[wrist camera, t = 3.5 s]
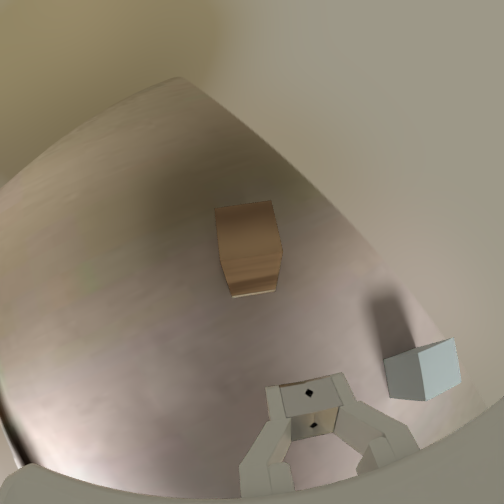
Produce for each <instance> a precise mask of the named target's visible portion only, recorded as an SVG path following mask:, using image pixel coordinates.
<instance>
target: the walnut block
mask: <svg viewBox="0 0 504 504" xmlns="http://www.w3.org/2000/svg"><path fill="white" fill-rule="evenodd" d="M214 209H215V219H216V229H217V238H218V247H219V256H220V262H221V265H222V268H223V271H224V274H225V277H226V280H227V283H228V286H229V289H230V292H231V295H232V298H236V297H243V296H250V295H256V294H263V293H269V292H275V290H276V285H277V280H278V275H279V270H280V264H281V259H282V254H283V249H282V245H281V240H280V236H279V232H278V227H277V223H276V219H275V214H274V210H273V206H272V202H271V200H270V201H263V202H255V203H248V204H241V205H234V206H227V207H221V208H214Z"/></svg>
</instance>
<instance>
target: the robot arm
mask: <svg viewBox="0 0 504 504" xmlns="http://www.w3.org/2000/svg"><path fill="white" fill-rule="evenodd" d="M265 391H266V399H267V408H268V416H269V421H267V422H266V424H265V425H264V427H263V429H262V430H261V432H260V434H259V435H258V437H257V439H256V440H255V442H254V443H253V445H252V447H251V448H250V450H249V451H248V453H247V455H246V456H245V458H244V459H243V461H242V462H241V464H240V465H239V478H240V492H241V498H233V499H188V498H173V497H162V496H153V495H146V494H139V493H133V492H127V491H122V490H117V489H112V488H108V487H104V486H100V485H96V484H92V483H88V482H85V481H82V480H78V479H75V478H72V477H69V476H66V475H63V474H60V473H57V472H55V471H52V470H49V469H47V468H45V467H42V466H40V465H37V464H34V463H31V464H28V465H26V466H24V467H22V468H20V469H18V470H17V471H15V472H14V473H12V474H10V475H9V476H8V477H7V478H6V479H5V481H4V482H3V484H2V486H1V488H0V504H504V396H503V397H502V398H501V399H500V400H499V401H497V402H496V403H495V404H494V405H492V406H491V407H489V408H488V409H487V410H485V411H484V412H483V413H481V414H480V415H478V416H477V417H475V418H474V419H473V420H471V421H470V422H468V423H467V424H465V425H463V426H462V427H460V428H459V429H457V430H456V431H454V432H452V433H451V434H449V435H447V436H445V437H444V438H442V439H440V440H438V441H437V442H435V443H433V444H431V445H429V446H427V447H425V448H423V449H421V450H420V448H419V447H418V445H417V443H416V441H415V439H414V437H413V436H412V434H411V432H410V430H409V428H408V427H407V425H405V424H403V423H401V422H399V421H397V420H395V419H393V418H391V417H389V416H387V415H385V414H383V413H382V412H380V411H378V410H376V409H374V408H372V407H371V406H369V405H367V404H365V403H363V402H362V401H359V402H357V401H356V399H355V397H354V395H353V392H352V390H351V388H350V386H349V384H348V382H347V380H346V378H345V376H344V374H343V373H342V372H341V373H337V374H333V375H329V376H323V377H319V378H314V379H310V380H305V381H302V382H296V383H289V384H282V385H276V386H268V387H265ZM332 432H334V434H335V435H337V436H338V437H339V438H340V439H342V440H343V441H344V442H346V443H347V444H348V445H349V446H351V447H352V448H353V449H355V450H356V451H357V452H359V453H360V454H361V455H363V457H362V459H361V460H360V462H359V464H358V466H357V468H356V471H357V474H358V476H355V477H352V478H348V479H345V480H342V481H338V482H334V483H331V484H327V485H323V486H318V487H314V488H310V489H305V490H300V491H295V488H294V483H293V479H292V474H291V470H290V465H289V464H287V463H285V462H282V461H283V459H284V457H285V455H286V453H287V451H288V448H289V446H290V444H291V441H296V440H300V439H305V438H309V437H314V436H319V435H323V434H328V433H332Z"/></svg>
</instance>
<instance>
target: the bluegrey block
mask: <svg viewBox="0 0 504 504" xmlns="http://www.w3.org/2000/svg"><path fill="white" fill-rule="evenodd" d="M383 361H384V366H385V371H386V377H387V383H388V389H389V395H390V398H395V399H405V400H415V401H428V400H430V399H432V398H434V397H435V396H437V395H439V394H441V393H443V392H445V391H447V390H449V389H450V388H452V387H454V386H456V385H457V384H459V383H461V375H460V369H459V363H458V357H457V352H456V346H455V342H454V338H450V339H446V340H443V341H440V342H436V343H432V344H429V345H425V346H421V347H417V348H414V349H411V350H409V351H406V352H403V353H401V354H398V355H395V356H392V357H389V358H386V359H383Z"/></svg>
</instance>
